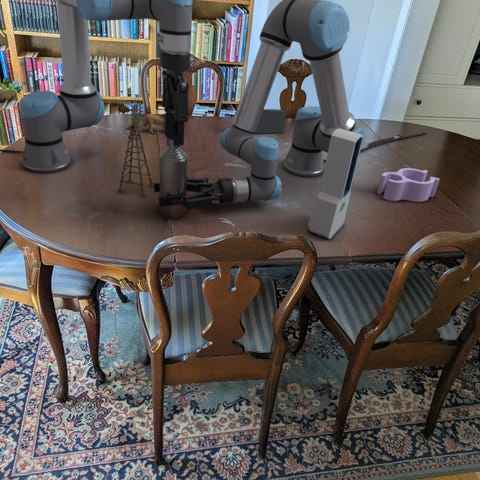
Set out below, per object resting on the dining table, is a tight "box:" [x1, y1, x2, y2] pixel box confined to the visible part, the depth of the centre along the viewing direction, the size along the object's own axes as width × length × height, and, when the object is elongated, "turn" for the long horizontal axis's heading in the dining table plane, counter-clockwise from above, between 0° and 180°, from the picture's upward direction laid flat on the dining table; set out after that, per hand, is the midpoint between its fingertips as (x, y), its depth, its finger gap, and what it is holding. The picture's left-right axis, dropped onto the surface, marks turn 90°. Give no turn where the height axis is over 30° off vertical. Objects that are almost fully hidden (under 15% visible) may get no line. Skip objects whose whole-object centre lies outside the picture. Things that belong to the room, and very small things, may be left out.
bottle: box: [158, 146, 189, 219], centre depth 134 cm, size 8×8×23 cm
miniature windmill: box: [118, 95, 154, 197], centre depth 142 cm, size 9×8×30 cm
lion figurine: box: [142, 111, 174, 134], centre depth 192 cm, size 15×5×9 cm, turn 110°
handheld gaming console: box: [234, 108, 287, 134], centre depth 202 cm, size 23×3×10 cm, turn 108°
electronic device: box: [307, 128, 364, 240], centre depth 132 cm, size 12×8×30 cm, turn 148°
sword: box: [368, 134, 409, 147], centre depth 212 cm, size 31×3×1 cm, turn 126°
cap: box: [166, 135, 182, 148], centre depth 128 cm, size 4×4×2 cm
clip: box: [376, 167, 440, 203], centre depth 164 cm, size 20×12×7 cm, turn 109°
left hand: (174, 140), depth 128 cm, fingers open, 6 cm apart
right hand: (156, 194), depth 135 cm, fingers closed on bottle, 8 cm apart
